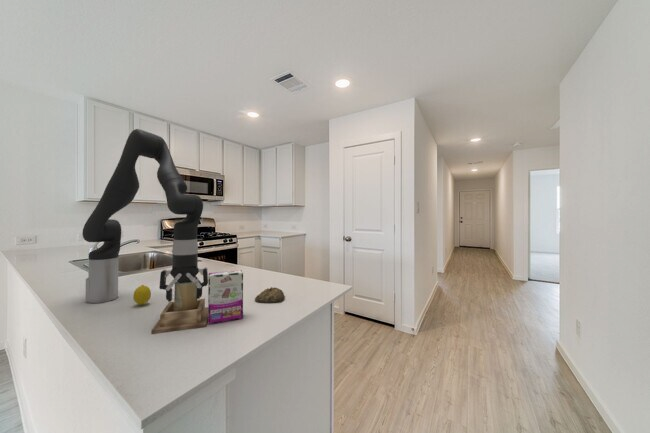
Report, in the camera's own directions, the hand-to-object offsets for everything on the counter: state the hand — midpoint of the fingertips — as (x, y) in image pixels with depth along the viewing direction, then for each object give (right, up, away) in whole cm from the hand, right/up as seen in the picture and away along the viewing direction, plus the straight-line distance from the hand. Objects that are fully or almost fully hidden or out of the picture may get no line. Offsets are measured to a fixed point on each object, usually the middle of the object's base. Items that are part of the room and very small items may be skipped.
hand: (184, 299), depth 83 cm
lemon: (-24, -7, +13) cm, 28 cm away
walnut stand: (0, -7, 0) cm, 7 cm away
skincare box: (0, -6, 0) cm, 6 cm away
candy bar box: (+13, -8, +2) cm, 15 cm away
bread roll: (+24, -8, +24) cm, 35 cm away
